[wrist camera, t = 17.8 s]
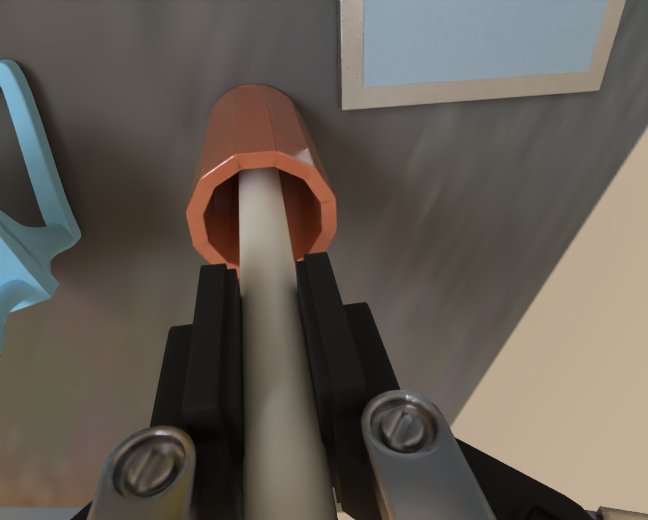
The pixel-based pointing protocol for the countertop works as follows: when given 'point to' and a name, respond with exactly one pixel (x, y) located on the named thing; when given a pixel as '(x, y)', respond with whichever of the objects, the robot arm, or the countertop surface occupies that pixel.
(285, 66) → the countertop surface
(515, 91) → the plate
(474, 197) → the countertop surface
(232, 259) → the pen pot
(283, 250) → the stylus
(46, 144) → the chair
